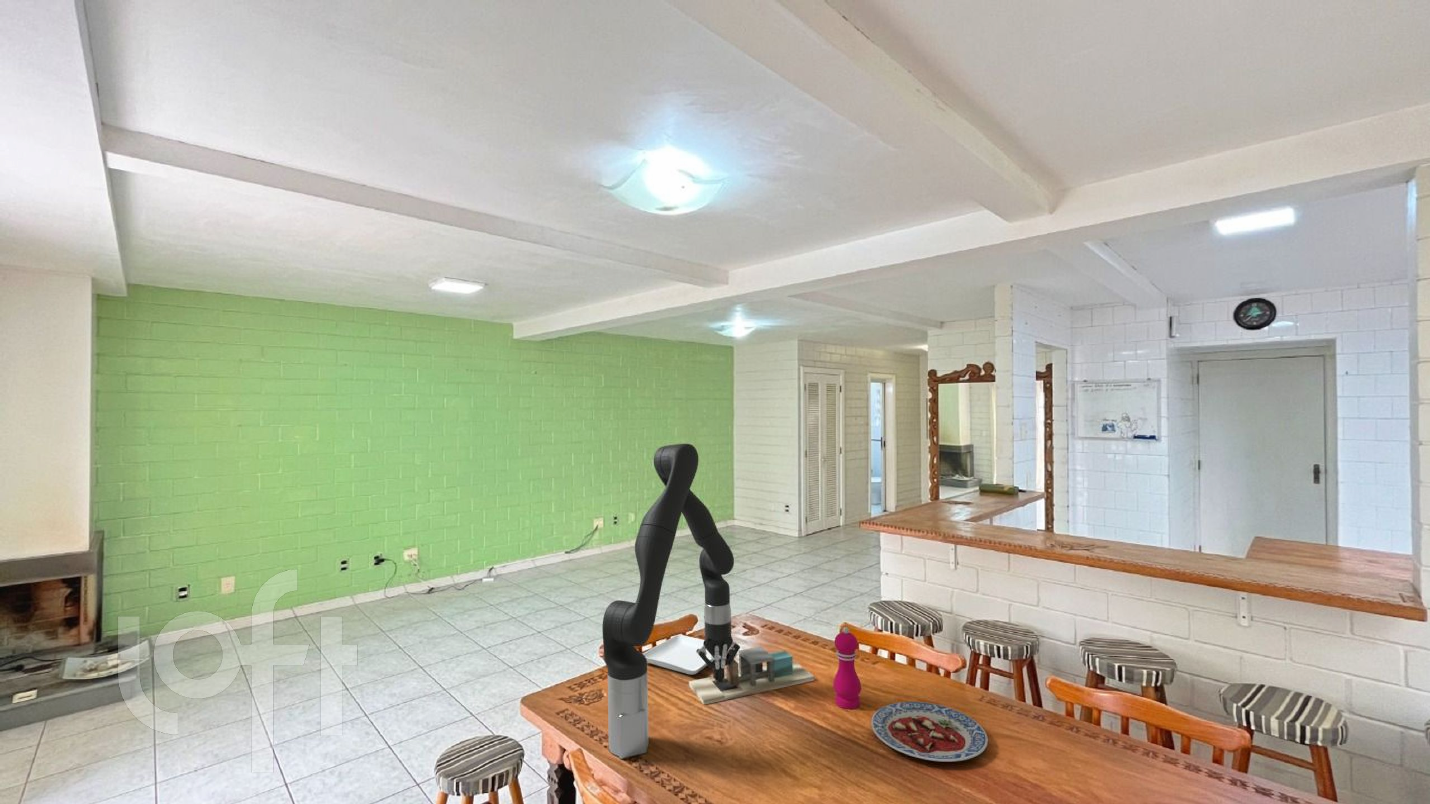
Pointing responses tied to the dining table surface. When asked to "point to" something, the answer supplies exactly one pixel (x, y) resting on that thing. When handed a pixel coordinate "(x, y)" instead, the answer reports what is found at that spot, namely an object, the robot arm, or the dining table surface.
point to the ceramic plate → (929, 731)
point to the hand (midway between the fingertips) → (719, 680)
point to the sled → (781, 668)
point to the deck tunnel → (748, 664)
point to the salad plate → (678, 654)
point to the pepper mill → (846, 671)
